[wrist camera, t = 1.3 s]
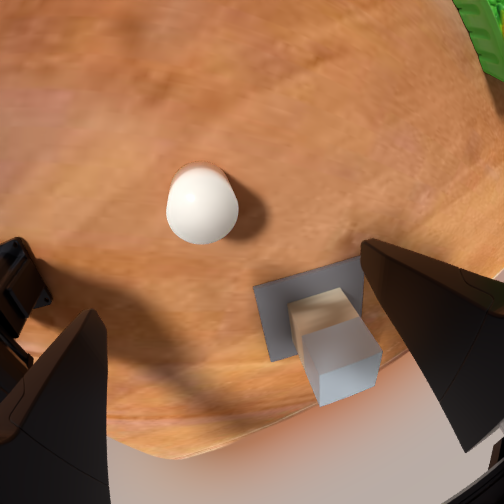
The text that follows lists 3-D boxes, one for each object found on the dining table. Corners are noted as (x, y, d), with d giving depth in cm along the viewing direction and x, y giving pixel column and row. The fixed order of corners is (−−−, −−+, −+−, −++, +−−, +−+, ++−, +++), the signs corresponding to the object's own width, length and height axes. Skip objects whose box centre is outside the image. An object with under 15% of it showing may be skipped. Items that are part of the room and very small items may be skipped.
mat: (270, 359, 30) (271, 362, 30) (252, 286, 25) (253, 289, 24) (358, 330, 31) (359, 333, 30) (362, 254, 25) (364, 257, 25)
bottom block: (292, 340, 28) (305, 371, 25) (287, 303, 26) (301, 335, 22) (339, 324, 29) (356, 353, 25) (339, 287, 26) (359, 316, 23)
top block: (305, 371, 25) (319, 407, 22) (301, 335, 22) (319, 375, 19) (356, 353, 25) (374, 386, 22) (359, 316, 23) (382, 351, 19)
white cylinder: (179, 223, 21) (178, 252, 17) (162, 170, 19) (157, 188, 15) (234, 208, 21) (244, 234, 18) (222, 154, 19) (230, 168, 16)
